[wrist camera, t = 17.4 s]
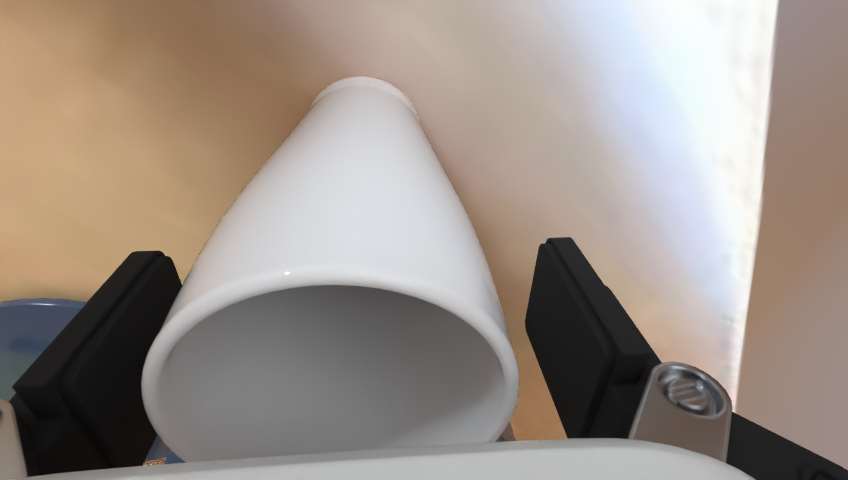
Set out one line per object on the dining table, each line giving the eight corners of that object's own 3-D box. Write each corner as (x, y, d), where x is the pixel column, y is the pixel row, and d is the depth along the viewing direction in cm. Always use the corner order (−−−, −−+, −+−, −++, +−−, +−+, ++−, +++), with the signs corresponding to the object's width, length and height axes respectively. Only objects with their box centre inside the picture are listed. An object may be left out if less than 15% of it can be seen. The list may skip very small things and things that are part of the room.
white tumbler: (376, 20, 17) (369, 174, 5) (462, 145, 21) (584, 423, 8) (258, 116, 19) (37, 409, 7) (355, 218, 23) (326, 537, 10)
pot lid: (-100, 275, 22) (-228, 359, 17) (219, 306, 25) (183, 385, 20) (-6, 444, 30) (-75, 533, 26) (226, 453, 33) (201, 533, 29)
